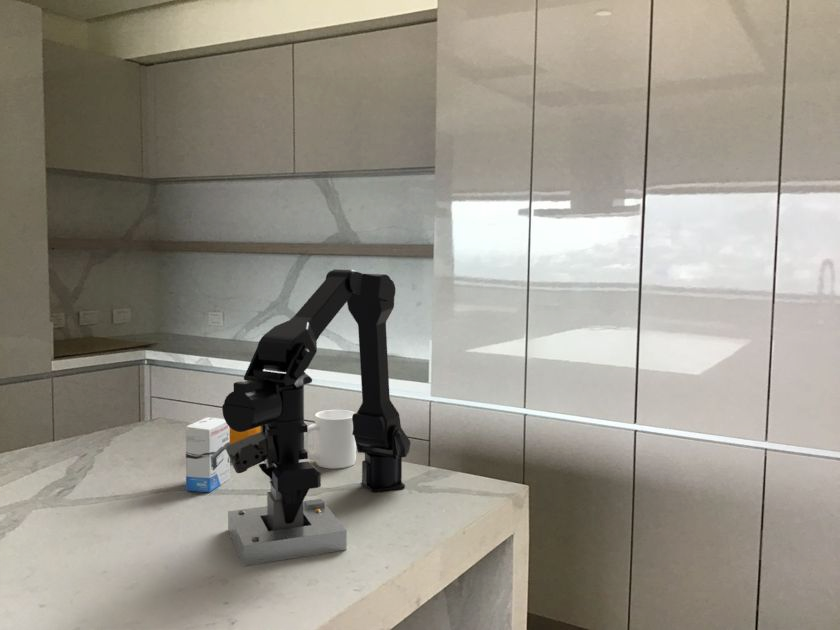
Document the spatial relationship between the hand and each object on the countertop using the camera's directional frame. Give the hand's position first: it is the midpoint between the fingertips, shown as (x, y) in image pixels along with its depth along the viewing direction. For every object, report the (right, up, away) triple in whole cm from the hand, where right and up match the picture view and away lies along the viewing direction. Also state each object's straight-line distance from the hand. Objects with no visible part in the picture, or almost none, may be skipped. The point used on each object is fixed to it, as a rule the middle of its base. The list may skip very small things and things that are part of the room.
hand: (285, 517), depth 114 cm
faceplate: (0, -4, 0) cm, 4 cm away
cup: (+2, 0, +38) cm, 38 cm away
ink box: (-19, -1, +25) cm, 31 cm away
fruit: (-17, +1, +45) cm, 48 cm away
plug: (0, -2, 0) cm, 2 cm away
